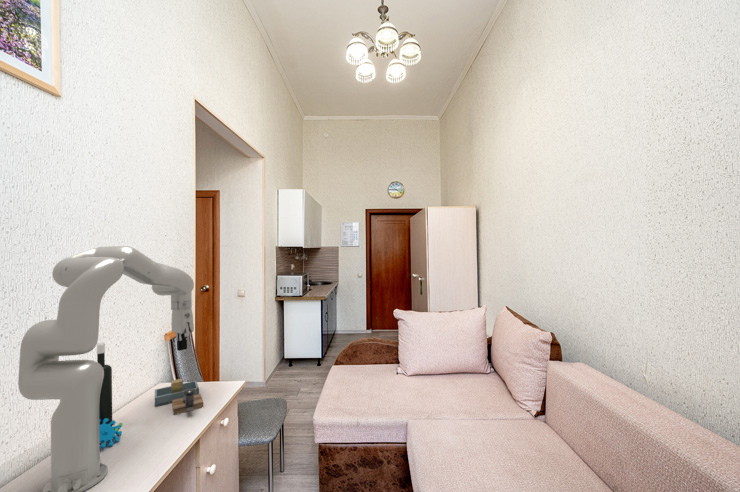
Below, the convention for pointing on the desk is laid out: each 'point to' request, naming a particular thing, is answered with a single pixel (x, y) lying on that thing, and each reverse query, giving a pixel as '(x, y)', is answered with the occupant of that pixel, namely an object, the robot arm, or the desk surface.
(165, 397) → the tray
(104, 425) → the blue lobed piece
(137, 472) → the desk surface
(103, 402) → the wine bottle
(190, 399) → the crank
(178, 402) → the crank base
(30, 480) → the desk surface
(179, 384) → the block
